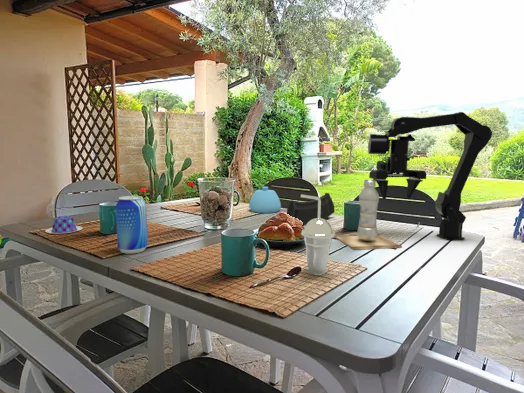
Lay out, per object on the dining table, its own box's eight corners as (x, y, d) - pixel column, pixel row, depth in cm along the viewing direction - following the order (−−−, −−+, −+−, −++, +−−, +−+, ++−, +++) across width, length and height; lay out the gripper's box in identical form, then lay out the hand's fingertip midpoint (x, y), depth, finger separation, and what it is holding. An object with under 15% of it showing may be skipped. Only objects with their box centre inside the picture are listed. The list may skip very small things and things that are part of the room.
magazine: (287, 206, 140) (330, 178, 159) (280, 205, 142) (324, 177, 161) (294, 246, 146) (335, 214, 165) (287, 245, 148) (329, 213, 167)
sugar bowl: (269, 215, 170) (270, 189, 168) (242, 211, 178) (242, 187, 176) (286, 210, 182) (286, 186, 180) (260, 207, 190) (260, 184, 189)
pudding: (61, 236, 129) (60, 221, 128) (37, 233, 134) (36, 218, 133) (90, 229, 140) (89, 215, 139) (67, 226, 144) (66, 213, 144)
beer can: (153, 248, 115) (151, 196, 113) (135, 255, 108) (133, 200, 105) (130, 245, 118) (128, 194, 116) (111, 252, 110) (108, 198, 108)
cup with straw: (334, 279, 91) (337, 196, 88) (296, 276, 92) (298, 195, 89) (334, 267, 99) (336, 192, 96) (299, 265, 100) (301, 190, 98)
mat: (377, 235, 134) (377, 233, 134) (401, 247, 118) (401, 245, 118) (334, 237, 131) (334, 235, 131) (354, 250, 115) (354, 247, 115)
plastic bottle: (359, 243, 121) (362, 181, 119) (354, 237, 128) (357, 179, 125) (379, 243, 121) (383, 181, 118) (373, 238, 128) (376, 179, 125)
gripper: (410, 153, 140) (407, 195, 142) (363, 153, 136) (361, 196, 138) (428, 154, 129) (425, 200, 131) (378, 154, 125) (375, 201, 128)
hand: (396, 199), depth 132 cm, fingers open, 9 cm apart
